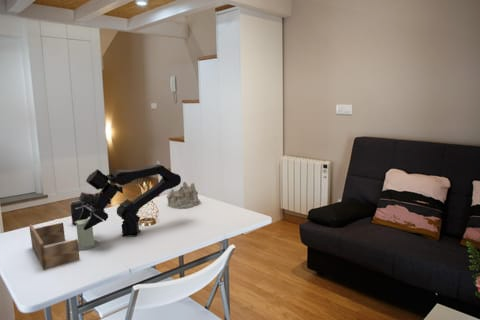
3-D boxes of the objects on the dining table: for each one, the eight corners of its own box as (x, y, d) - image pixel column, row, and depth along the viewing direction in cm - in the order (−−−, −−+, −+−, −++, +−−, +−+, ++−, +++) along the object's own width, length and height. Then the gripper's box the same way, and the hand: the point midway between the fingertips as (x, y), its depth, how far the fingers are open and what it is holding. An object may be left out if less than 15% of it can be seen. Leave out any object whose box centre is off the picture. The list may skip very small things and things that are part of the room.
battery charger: (73, 226, 177) (70, 203, 175) (71, 224, 180) (69, 201, 178) (88, 223, 181) (86, 200, 179) (86, 220, 184) (84, 198, 182)
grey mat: (102, 240, 159) (102, 239, 159) (93, 250, 149) (92, 249, 149) (80, 240, 159) (79, 239, 159) (68, 250, 149) (68, 249, 149)
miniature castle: (204, 203, 208) (201, 177, 205) (181, 211, 196) (178, 184, 193) (186, 200, 218) (183, 175, 216) (164, 208, 206) (160, 182, 204)
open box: (64, 239, 160) (62, 218, 159) (79, 259, 141) (76, 234, 139) (32, 247, 153) (29, 224, 151) (43, 269, 133) (40, 243, 132)
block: (90, 240, 157) (88, 218, 155) (94, 244, 153) (91, 221, 152) (78, 243, 154) (75, 221, 152) (81, 247, 150) (79, 224, 149)
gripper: (84, 181, 159) (59, 210, 155) (97, 189, 144) (70, 222, 140) (104, 195, 165) (81, 224, 161) (118, 204, 151) (93, 236, 146)
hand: (81, 226), depth 152 cm, fingers open, 9 cm apart
